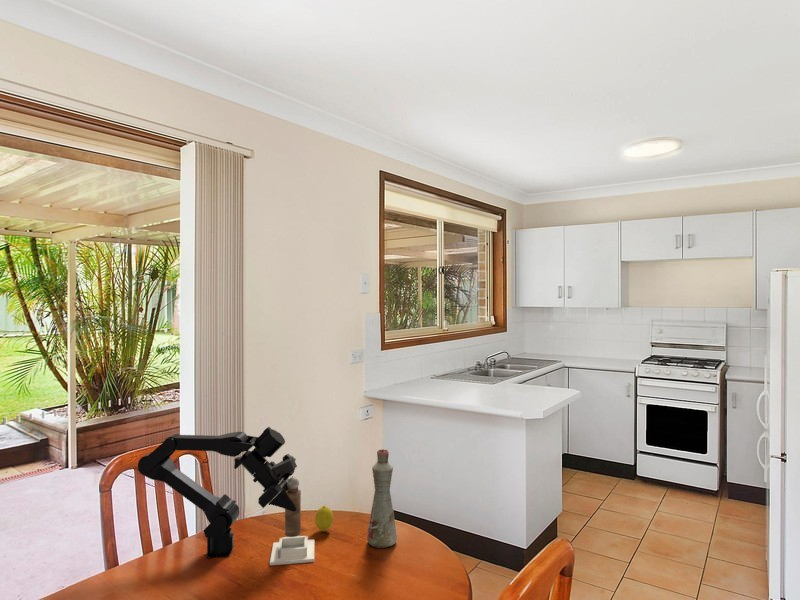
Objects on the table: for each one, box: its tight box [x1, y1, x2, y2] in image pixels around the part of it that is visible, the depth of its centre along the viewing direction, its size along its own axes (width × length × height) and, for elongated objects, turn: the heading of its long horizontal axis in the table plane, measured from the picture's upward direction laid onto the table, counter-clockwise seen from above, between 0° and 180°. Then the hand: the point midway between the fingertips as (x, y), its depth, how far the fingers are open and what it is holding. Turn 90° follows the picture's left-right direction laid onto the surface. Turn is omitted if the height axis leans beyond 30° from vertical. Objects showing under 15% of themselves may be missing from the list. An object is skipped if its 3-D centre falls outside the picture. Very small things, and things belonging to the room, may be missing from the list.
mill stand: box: [269, 535, 315, 566], centre depth 149 cm, size 12×12×3 cm
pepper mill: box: [284, 476, 302, 537], centre depth 149 cm, size 4×4×16 cm
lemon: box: [314, 505, 334, 532], centre depth 164 cm, size 6×6×8 cm
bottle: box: [366, 449, 398, 549], centre depth 155 cm, size 9×9×28 cm
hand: (297, 507), depth 149 cm, fingers closed on pepper mill, 4 cm apart
